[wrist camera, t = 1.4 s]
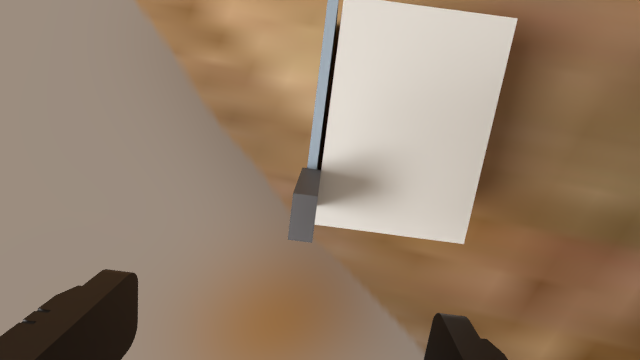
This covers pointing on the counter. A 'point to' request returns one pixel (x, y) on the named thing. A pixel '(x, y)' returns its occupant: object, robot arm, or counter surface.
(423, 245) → the counter surface
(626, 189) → the counter surface
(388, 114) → the carton
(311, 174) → the front flap
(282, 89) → the counter surface
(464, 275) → the counter surface
